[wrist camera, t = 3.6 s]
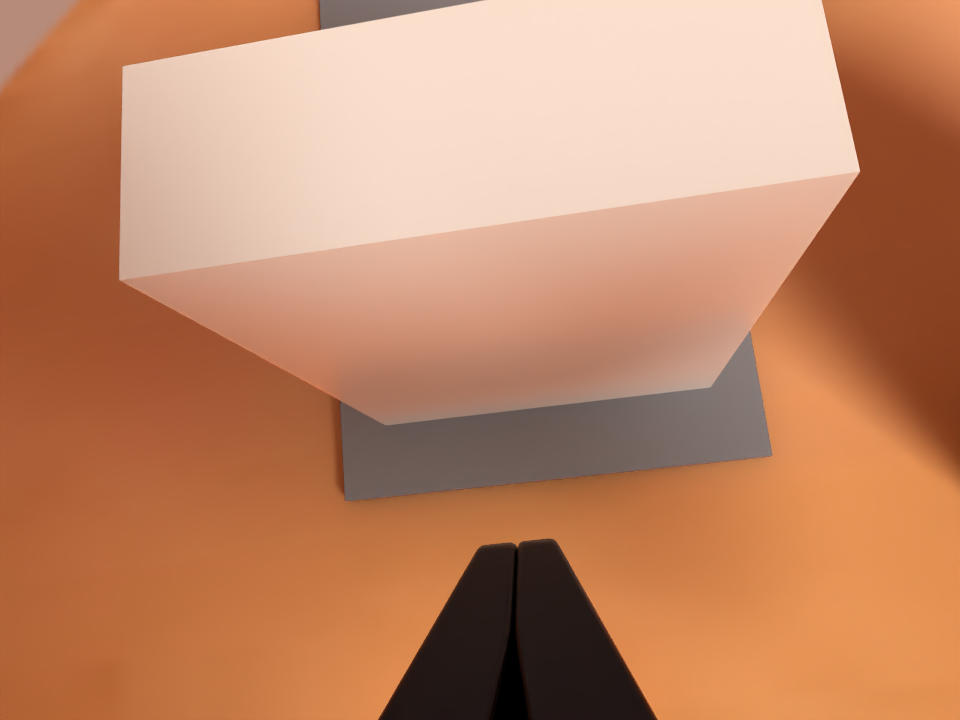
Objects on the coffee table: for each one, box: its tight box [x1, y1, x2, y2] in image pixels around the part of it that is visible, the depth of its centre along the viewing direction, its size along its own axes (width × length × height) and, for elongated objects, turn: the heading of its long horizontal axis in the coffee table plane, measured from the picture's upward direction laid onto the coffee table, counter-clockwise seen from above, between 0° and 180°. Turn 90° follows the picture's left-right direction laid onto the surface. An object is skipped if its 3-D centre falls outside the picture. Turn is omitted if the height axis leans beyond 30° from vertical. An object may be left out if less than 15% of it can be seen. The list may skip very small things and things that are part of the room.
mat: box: [319, 0, 772, 501], centre depth 18 cm, size 14×9×1 cm, turn 5°
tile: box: [119, 0, 860, 425], centre depth 13 cm, size 2×7×10 cm, turn 95°
